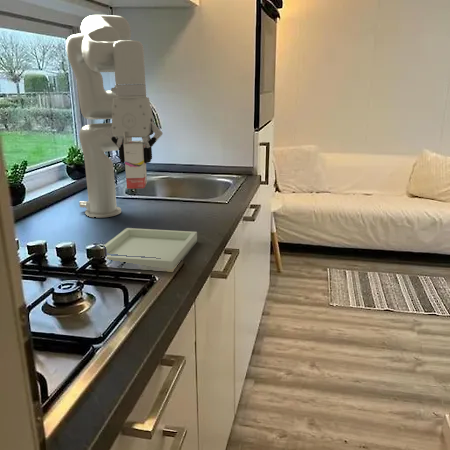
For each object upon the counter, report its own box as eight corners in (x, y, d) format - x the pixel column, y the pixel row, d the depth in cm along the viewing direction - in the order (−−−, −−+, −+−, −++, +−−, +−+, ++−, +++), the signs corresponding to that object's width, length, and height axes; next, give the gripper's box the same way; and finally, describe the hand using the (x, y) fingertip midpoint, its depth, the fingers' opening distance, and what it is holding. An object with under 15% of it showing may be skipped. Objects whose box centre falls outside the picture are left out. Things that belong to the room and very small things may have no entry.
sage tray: (91, 266, 123) (89, 255, 123) (127, 237, 146) (126, 228, 145) (172, 272, 119) (172, 261, 118) (197, 241, 142) (196, 231, 141)
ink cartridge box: (145, 188, 126) (141, 131, 121) (126, 189, 125) (122, 132, 121) (148, 182, 134) (144, 128, 130) (130, 182, 134) (126, 129, 129)
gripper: (93, 92, 121) (99, 163, 126) (158, 92, 117) (162, 165, 123) (106, 92, 128) (111, 159, 133) (167, 91, 124) (171, 160, 130)
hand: (135, 161), depth 128 cm, fingers closed on ink cartridge box, 5 cm apart
